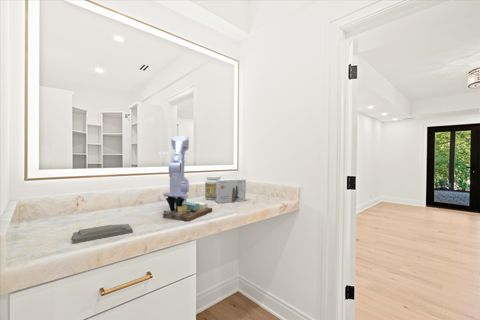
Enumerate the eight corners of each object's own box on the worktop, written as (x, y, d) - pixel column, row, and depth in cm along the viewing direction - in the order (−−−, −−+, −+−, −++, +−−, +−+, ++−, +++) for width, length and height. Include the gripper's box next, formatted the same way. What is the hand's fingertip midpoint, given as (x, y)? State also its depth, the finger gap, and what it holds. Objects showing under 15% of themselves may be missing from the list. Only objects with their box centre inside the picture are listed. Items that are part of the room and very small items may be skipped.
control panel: (163, 217, 114) (163, 210, 114) (189, 208, 134) (189, 202, 134) (188, 221, 107) (188, 214, 107) (212, 211, 127) (212, 205, 127)
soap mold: (133, 234, 91) (133, 225, 91) (72, 245, 79) (72, 236, 79) (128, 227, 99) (128, 220, 99) (72, 237, 87) (72, 228, 87)
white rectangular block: (188, 207, 127) (188, 203, 127) (193, 205, 132) (193, 201, 132) (202, 209, 123) (202, 204, 123) (207, 207, 128) (207, 203, 128)
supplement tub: (202, 198, 167) (202, 176, 167) (215, 196, 175) (215, 175, 175) (211, 201, 158) (211, 177, 158) (224, 198, 166) (224, 176, 166)
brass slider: (177, 214, 112) (177, 206, 112) (182, 212, 115) (182, 204, 115) (182, 214, 110) (182, 207, 110) (187, 213, 114) (187, 205, 114)
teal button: (178, 208, 120) (178, 203, 120) (184, 206, 125) (184, 201, 125) (193, 209, 116) (193, 205, 116) (199, 208, 121) (199, 203, 121)
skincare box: (218, 203, 148) (218, 180, 148) (215, 202, 153) (215, 179, 153) (246, 201, 158) (246, 179, 158) (242, 199, 163) (242, 178, 163)
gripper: (159, 185, 114) (159, 211, 114) (181, 187, 108) (181, 214, 108) (168, 183, 120) (168, 208, 121) (190, 185, 114) (190, 211, 115)
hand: (175, 211), depth 115 cm, fingers open, 3 cm apart
